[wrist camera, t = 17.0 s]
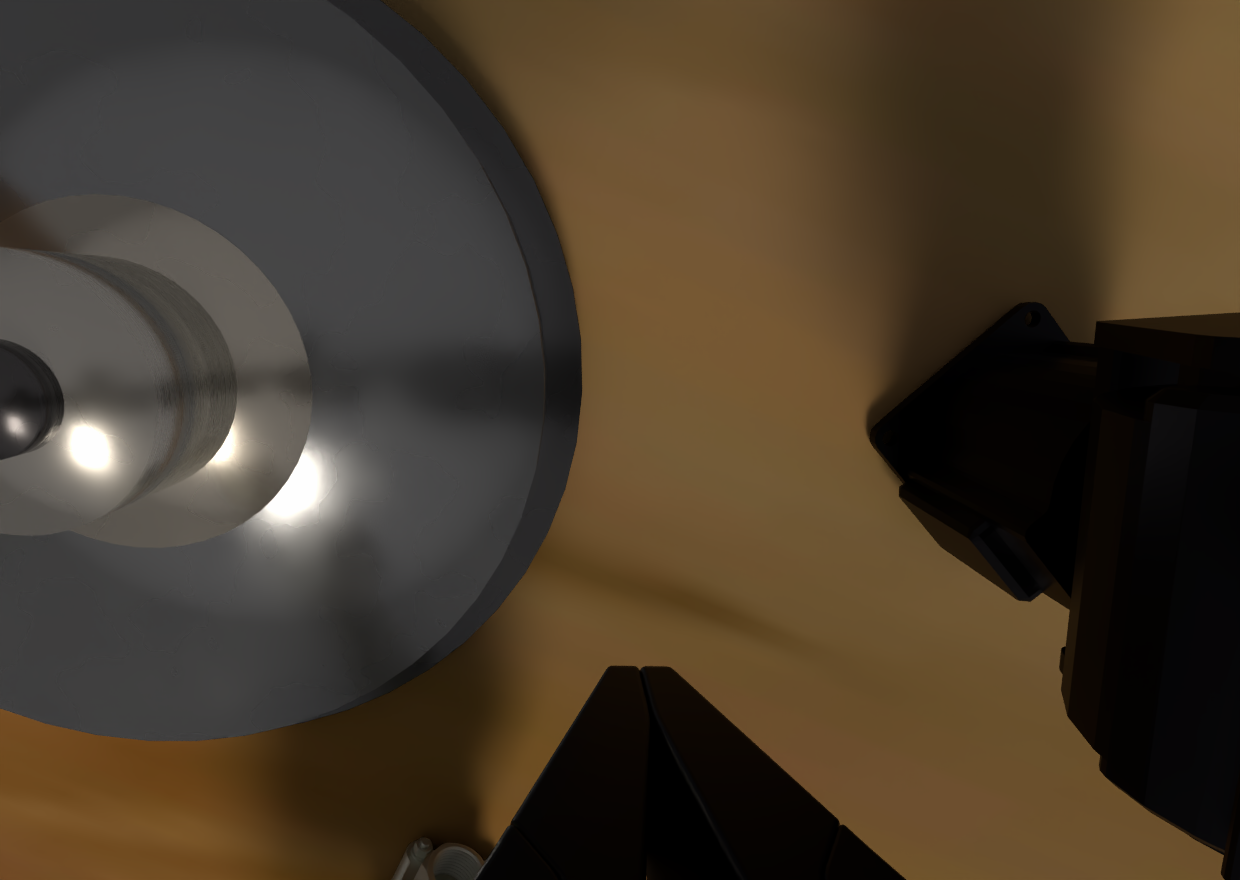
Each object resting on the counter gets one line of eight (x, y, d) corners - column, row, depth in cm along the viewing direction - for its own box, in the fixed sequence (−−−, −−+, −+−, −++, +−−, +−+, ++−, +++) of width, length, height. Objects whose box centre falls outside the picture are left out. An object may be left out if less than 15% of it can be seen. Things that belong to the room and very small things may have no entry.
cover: (-38, 257, 15) (-237, 242, 12) (218, 254, 16) (105, 240, 12) (17, 495, 17) (-147, 551, 13) (252, 488, 17) (159, 541, 13)
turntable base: (134, -302, 15) (103, -343, 14) (733, 395, 20) (741, 399, 19) (-413, 342, 18) (-471, 344, 17) (235, 832, 22) (219, 857, 21)
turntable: (-381, -67, 15) (-859, -249, 10) (529, -55, 16) (506, -213, 11) (-133, 727, 19) (-376, 872, 14) (560, 693, 20) (553, 818, 15)
